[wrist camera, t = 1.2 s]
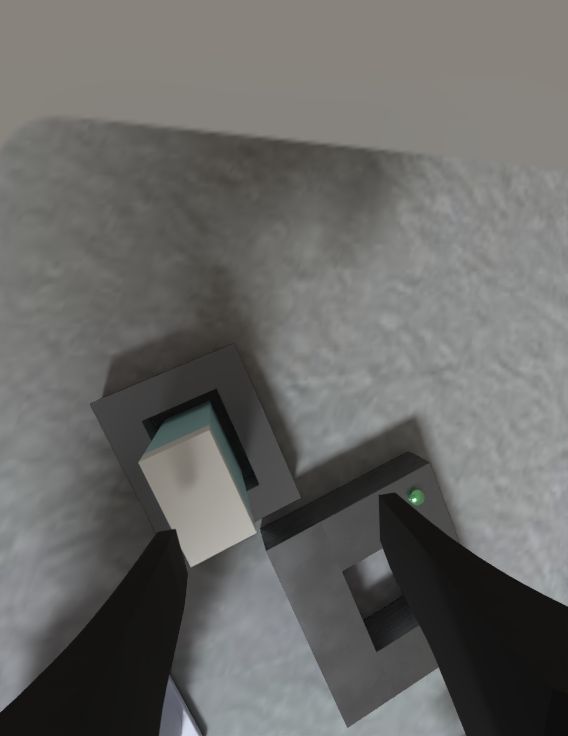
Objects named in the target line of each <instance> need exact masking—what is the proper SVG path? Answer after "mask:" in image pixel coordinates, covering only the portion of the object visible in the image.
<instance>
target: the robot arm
mask: <svg viewBox="0 0 568 736" xmlns="http://www.w3.org/2000/svg"><path fill="white" fill-rule="evenodd" d="M379 525H380V542H381V544H382V547H383V550H384V553H385V555H386V558H387V560H388V563H389V566H390V568H391V570H392V572H393V574H394V577H395V579H396V581H397V582H398V584H399V586H400V588H401V590H402V592H403V594H404V596H405V598H406V600H407V602H408V604H409V606H410V608H411V610H412V612H413V614H414V616H415V618H416V620H417V622H418V624H419V626H420V628H421V630H422V632H423V634H424V635H425V637H426V640H427V642H428V644H429V646H430V648H431V650H432V652H433V655H434V657H435V659H436V662H437V664H438V667H439V669H440V671H441V674H442V676H443V679H444V681H445V683H446V686H447V688H448V691H449V693H450V696H451V698H452V701H453V703H454V706H455V708H456V711H457V713H458V716H459V718H460V721H461V723H462V726H463V728H464V731H465V733H466V736H568V606H565V605H563V604H561V603H559V602H557V601H555V600H553V599H551V598H549V597H547V596H545V595H543V594H542V593H540V592H538V591H536V590H534V589H532V588H530V587H528V586H527V585H525V584H523V583H521V582H519V581H517V580H516V579H514V578H512V577H510V576H509V575H507V574H505V573H504V572H502V571H500V570H499V569H497V568H495V567H494V566H492V565H491V564H489V563H487V562H486V561H484V560H483V559H481V558H479V557H478V556H476V555H475V554H473V553H472V552H471V551H469V550H468V549H466V548H465V547H463V546H462V545H461V544H459V543H458V542H456V541H455V540H454V539H452V538H451V537H450V536H448V535H447V534H446V533H444V532H443V531H442V530H441V529H439V528H438V527H437V526H435V525H434V524H433V523H432V522H430V521H429V520H428V519H427V518H425V517H424V516H423V515H422V514H421V513H419V512H418V511H417V510H416V509H415V508H413V507H412V506H411V505H410V504H409V503H407V502H406V501H405V500H404V499H403V498H401V497H400V496H399V495H398V494H397V493H395V492H394V493H388V494H382V495H379ZM187 577H188V573H187V569H186V565H185V561H184V558H183V554H182V550H181V546H180V543H179V539H178V535H177V531H176V529H171V530H165V531H159V532H157V534H156V535H155V536H154V538H153V539H152V540H151V542H150V543H149V545H148V546H147V547H146V549H145V550H144V552H143V553H142V554H141V556H140V557H139V559H138V560H137V561H136V563H135V564H134V566H133V567H132V568H131V570H130V571H129V572H128V574H127V575H126V576H125V578H124V579H123V580H122V582H121V583H120V584H119V586H118V587H117V588H116V590H115V591H114V592H113V594H112V595H111V596H110V597H109V599H108V600H107V601H106V602H105V604H104V605H103V606H102V607H101V608H100V610H99V611H98V612H97V613H96V615H95V616H94V617H93V618H92V620H91V621H90V622H89V623H88V624H87V625H86V627H85V628H84V629H83V630H82V631H81V632H80V633H79V635H78V636H77V637H76V638H75V639H74V640H73V641H72V642H71V643H70V644H69V646H68V647H67V648H66V649H65V650H64V651H63V652H62V653H61V654H60V655H59V656H58V657H57V658H56V659H55V660H54V661H53V662H52V663H51V664H50V665H49V666H48V667H47V668H46V669H45V670H44V671H43V672H42V673H41V674H40V675H39V676H38V677H37V678H36V679H35V680H34V681H33V682H32V683H31V684H30V685H29V686H28V687H27V688H26V689H25V690H24V691H23V692H22V693H21V694H20V695H19V696H18V697H17V698H16V699H15V700H13V701H12V702H11V703H10V704H9V705H8V706H7V707H6V708H5V709H4V710H3V711H1V712H0V736H203V735H202V734H201V732H200V730H199V728H198V726H197V724H196V723H195V721H194V719H193V717H192V715H191V713H190V711H189V710H188V708H187V706H186V704H185V702H184V700H183V699H182V697H181V695H180V693H179V691H178V689H177V687H176V686H175V684H174V682H173V680H172V678H171V676H170V670H171V666H172V661H173V657H174V652H175V648H176V643H177V638H178V634H179V629H180V625H181V620H182V615H183V610H184V605H185V596H186V587H187Z"/></svg>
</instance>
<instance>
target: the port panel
mask: <svg viewBox="0 0 568 736" xmlns="http://www.w3.org/2000/svg"><path fill="white" fill-rule="evenodd" d="M394 492H395V493H397V494H398V495H399V496H400V497H401V498H403V499H404V500H405V501H406V502H407V503H409V504H410V505H411V506H412V507H413V508H415V509H416V510H417V511H418V512H419V513H421V514H422V515H423V516H424V517H425V518H427V519H428V520H429V521H430V522H432V523H433V524H434V525H435V526H437V527H438V528H439V529H441V530H442V531H443V532H444V533H446V534H447V535H448V536H450V537H451V538H452V539H454V540H455V541H456V542H458V543H459V541H458V538H457V536H456V533H455V530H454V527H453V525H452V522H451V519H450V516H449V514H448V511H447V508H446V505H445V503H444V500H443V497H442V494H441V491H440V489H439V486H438V483H437V480H436V478H435V475H434V472H433V469H432V467H431V464H430V462H428V461H426V460H424V459H422V458H420V457H418V456H416V455H415V454H413V453H411V452H409V451H408V452H406V453H405V454H403V455H401V456H399V457H397V458H395V459H393V460H391V461H389V462H387V463H386V464H384V465H382V466H380V467H378V468H376V469H374V470H372V471H370V472H368V473H367V474H365V475H363V476H361V477H359V478H357V479H355V480H353V481H351V482H349V483H347V484H346V485H344V486H342V487H340V488H338V489H336V490H334V491H332V492H330V493H328V494H327V495H325V496H323V497H321V498H319V499H317V500H315V501H313V502H311V503H309V504H307V505H306V506H304V507H302V508H300V509H298V510H296V511H294V512H292V513H290V514H288V515H287V516H285V517H283V518H281V519H279V520H277V521H275V522H273V523H271V524H269V525H268V526H266V527H264V528H262V529H260V530H261V534H262V538H263V541H264V545H265V549H266V552H267V554H268V556H269V559H270V561H271V563H272V565H273V567H274V569H275V572H276V574H277V576H278V578H279V580H280V582H281V585H282V587H283V589H284V591H285V593H286V595H287V598H288V600H289V602H290V604H291V606H292V609H293V611H294V613H295V615H296V617H297V619H298V622H299V624H300V626H301V628H302V630H303V632H304V635H305V637H306V639H307V641H308V643H309V645H310V648H311V650H312V652H313V654H314V656H315V659H316V661H317V663H318V665H319V667H320V669H321V672H322V674H323V676H324V678H325V680H326V682H327V685H328V687H329V689H330V691H331V693H332V695H333V698H334V700H335V702H336V704H337V706H338V709H339V711H340V713H341V715H342V717H343V719H344V722H345V724H346V726H347V728H348V727H350V726H351V725H353V724H354V723H356V722H357V721H359V720H360V719H362V718H363V717H365V716H366V715H368V714H369V713H371V712H372V711H374V710H375V709H377V708H378V707H380V706H381V705H383V704H384V703H386V702H387V701H389V700H390V699H392V698H393V697H395V696H396V695H398V694H399V693H401V692H402V691H404V690H405V689H407V688H408V687H410V686H411V685H413V684H414V683H416V682H417V681H419V680H420V679H422V678H423V677H425V676H426V675H428V674H429V673H431V672H432V671H434V670H435V669H437V668H438V664H437V662H436V659H435V657H434V655H433V652H432V650H431V648H430V646H429V644H428V642H427V640H426V637H425V635H424V634H423V632H422V630H421V628H420V626H419V624H418V622H417V620H416V618H415V616H414V614H413V612H412V610H411V608H410V606H409V604H408V602H407V600H406V598H405V596H403V597H401V598H400V599H398V600H396V601H395V602H393V603H391V604H390V605H388V606H387V607H385V608H383V609H382V610H380V611H378V612H377V613H375V614H373V615H372V616H370V617H369V618H367V619H365V620H364V621H363V620H362V617H361V615H360V613H359V610H358V608H357V605H356V603H355V601H354V598H353V596H352V594H351V591H350V589H349V587H348V584H347V582H346V580H345V577H344V575H343V573H342V571H344V570H346V569H347V568H349V567H351V566H352V565H354V564H356V563H358V562H359V561H361V560H363V559H365V558H366V557H368V556H370V555H372V554H373V553H375V552H377V551H379V550H380V549H382V548H383V547H382V544H381V542H380V525H379V495H382V494H388V493H394Z"/></svg>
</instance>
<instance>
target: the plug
mask: <svg viewBox="0 0 568 736" xmlns="http://www.w3.org/2000/svg"><path fill="white" fill-rule="evenodd" d="M138 463H139V465H140V467H141V469H142V471H143V473H144V475H145V477H146V479H147V481H148V483H149V485H150V487H151V489H152V491H153V493H154V495H155V497H156V499H157V501H158V503H159V505H160V507H161V509H162V511H163V513H164V515H165V517H166V519H167V521H168V523H169V525H170V527H171V529H176V531H177V535H178V539H179V543H180V546H181V549H182V551H183V553H184V555H185V557H186V559H187V561H188V563H189V565H190V567H193V566H195V565H197V564H199V563H200V562H202V561H204V560H206V559H208V558H210V557H212V556H214V555H216V554H218V553H219V552H221V551H223V550H225V549H227V548H229V547H231V546H233V545H235V544H237V543H238V542H240V541H242V540H244V539H246V538H248V537H250V536H252V535H254V534H256V533H257V532H256V528H255V524H254V520H253V516H252V512H251V508H250V504H249V500H248V496H247V491H246V487H245V483H244V479H243V475H242V471H241V467H240V465H239V463H238V461H237V459H236V456H235V454H234V452H233V450H232V448H231V445H230V443H229V441H228V439H227V437H226V434H225V432H224V430H223V428H222V426H221V423H220V421H219V419H218V417H217V415H216V412H215V410H214V408H213V406H212V404H211V401H210V400H208V401H206V402H204V403H202V404H199V405H197V406H195V407H193V408H190V409H188V410H186V411H184V412H181V413H179V414H177V415H174V416H172V417H170V418H168V419H165V420H164V422H163V424H162V425H161V427H160V428H159V430H158V432H157V433H156V435H155V437H154V438H153V440H152V441H151V443H150V445H149V446H148V448H147V449H146V451H145V453H144V454H143V456H142V457H141V459H140V461H139V462H138Z"/></svg>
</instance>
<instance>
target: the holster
mask: <svg viewBox="0 0 568 736" xmlns="http://www.w3.org/2000/svg"><path fill="white" fill-rule="evenodd" d="M216 388H217V391H218V393H219V395H220V397H221V399H222V402H223V404H224V406H225V408H226V411H227V413H228V415H229V417H230V420H231V422H232V424H233V426H234V428H235V431H236V433H237V435H238V437H239V440H240V442H241V444H242V446H243V449H244V451H245V453H246V455H247V457H248V460H249V462H250V464H251V466H252V469H253V471H254V474H252V475H250V476H248V477H246V478H244V483H245V487H246V491H247V496H248V500H249V504H250V508H251V512H252V516H253V520H254V522H255V521H257V520H259V519H261V518H263V517H265V516H267V515H269V514H271V513H273V512H275V511H277V510H279V509H280V508H282V507H284V506H286V505H288V504H290V503H292V502H294V501H296V500H298V499H300V498H301V496H300V494H299V492H298V489H297V487H296V485H295V482H294V480H293V478H292V475H291V473H290V471H289V469H288V466H287V464H286V462H285V459H284V457H283V455H282V452H281V450H280V448H279V445H278V443H277V441H276V438H275V436H274V434H273V431H272V429H271V427H270V424H269V422H268V420H267V417H266V415H265V413H264V411H263V408H262V406H261V404H260V401H259V399H258V397H257V394H256V392H255V390H254V387H253V385H252V383H251V380H250V378H249V376H248V373H247V371H246V369H245V366H244V364H243V362H242V360H241V357H240V355H239V353H238V350H237V348H236V346H235V343H234V344H231V345H228V346H226V347H223V348H221V349H219V350H216V351H214V352H211V353H209V354H207V355H204V356H202V357H199V358H197V359H195V360H192V361H190V362H187V363H185V364H183V365H180V366H178V367H175V368H173V369H171V370H168V371H166V372H163V373H161V374H159V375H156V376H154V377H151V378H149V379H147V380H144V381H142V382H139V383H137V384H135V385H132V386H130V387H127V388H125V389H123V390H120V391H118V392H115V393H113V394H111V395H108V396H106V397H103V398H101V399H99V400H97V401H95V402H93V403H91V404H90V406H91V408H92V410H93V412H94V413H95V415H96V417H97V419H98V421H99V423H100V425H101V427H102V429H103V431H104V433H105V435H106V437H107V439H108V441H109V443H110V445H111V447H112V449H113V451H114V453H115V455H116V457H117V459H118V461H119V462H120V464H121V466H122V468H123V470H124V472H125V474H126V476H127V478H128V480H129V482H130V484H131V486H132V488H133V490H134V492H135V494H136V496H137V498H138V500H139V502H140V504H141V506H142V508H143V510H144V511H145V513H146V515H147V517H148V519H149V521H150V523H151V525H152V527H153V529H154V531H155V533H156V534H157V532H159V531H165V530H171V527H170V525H169V523H168V521H167V519H166V517H165V515H164V513H163V511H162V509H161V507H160V505H159V503H158V501H157V499H156V497H155V495H154V493H153V491H152V489H151V487H150V485H149V483H148V481H147V479H146V477H145V475H144V473H143V471H142V469H141V467H140V465H139V463H138V462H139V461H140V459H141V457H142V456H143V454H144V453H145V451H146V449H147V448H148V446H149V445H150V443H151V441H152V440H153V438H154V437H155V435H156V433H157V432H156V430H155V427H154V425H153V423H152V421H151V419H150V417H152V416H154V415H157V414H159V413H161V412H164V411H166V410H168V409H170V408H173V407H175V406H177V405H180V404H182V403H184V402H186V401H189V400H191V399H193V398H196V397H198V396H200V395H202V394H205V393H207V392H209V391H212V390H214V389H216ZM181 550H182V549H181ZM182 554H183V558H186V557H185V555H184V553H183V551H182Z"/></svg>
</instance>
